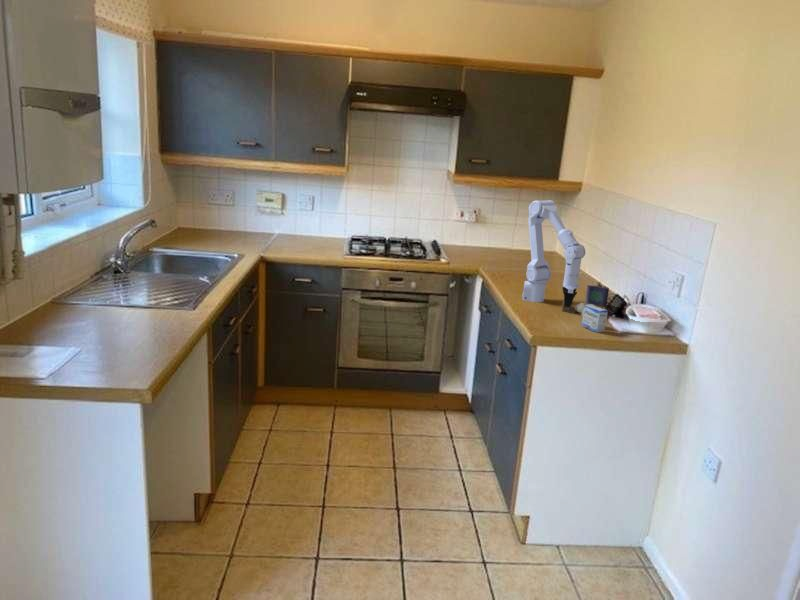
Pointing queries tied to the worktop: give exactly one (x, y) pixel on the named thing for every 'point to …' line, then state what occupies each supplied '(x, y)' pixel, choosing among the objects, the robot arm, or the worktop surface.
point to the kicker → (567, 308)
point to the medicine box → (594, 318)
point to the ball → (579, 307)
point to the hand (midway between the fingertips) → (567, 305)
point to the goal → (583, 309)
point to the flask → (597, 294)
